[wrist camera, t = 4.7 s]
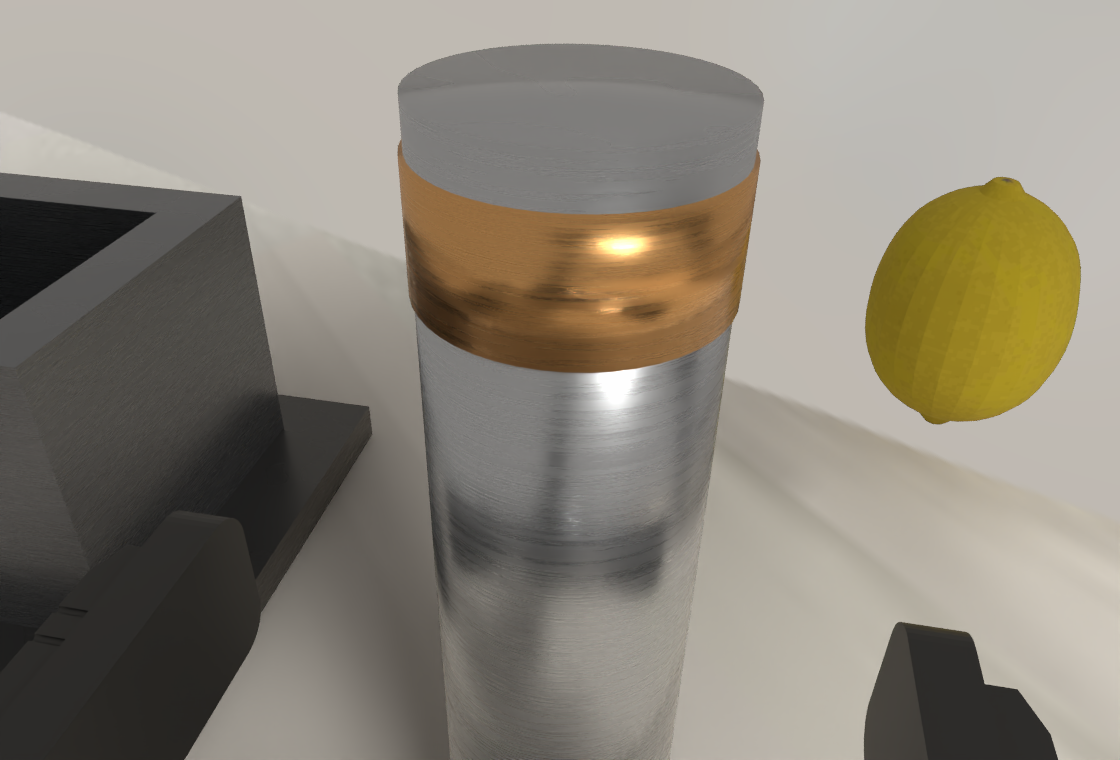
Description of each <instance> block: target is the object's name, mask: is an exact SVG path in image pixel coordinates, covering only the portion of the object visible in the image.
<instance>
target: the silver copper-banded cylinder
mask: <svg viewBox="0 0 1120 760" xmlns="http://www.w3.org/2000/svg"><path fill="white" fill-rule="evenodd" d="M398 101H399V113H400V127H401V141H400V143H399V145H398V166H399V177H400V190H401V201H402V214H403V226H404V238H405V251H406V263H407V275H408V288H409V298H410V301H411V305H412V308H413V309H414V311H415V317H416V330H417V343H418V355H419V368H420V381H421V394H422V406H423V419H424V432H425V444H426V457H427V470H428V482H429V495H430V508H431V520H432V533H433V546H434V559H435V571H436V584H437V597H438V609H439V622H440V635H441V647H442V660H443V673H444V686H445V698H446V711H447V724H448V736H449V749H450V760H669V759H670V752H671V745H672V738H673V731H674V724H675V717H676V711H677V704H678V697H679V690H680V683H681V676H682V669H683V662H684V655H685V648H686V641H687V634H688V627H689V620H690V613H691V606H692V599H693V592H694V585H695V578H696V571H697V564H698V557H699V550H700V543H701V536H702V529H703V522H704V515H705V508H706V501H707V494H708V487H709V480H710V473H711V466H712V459H713V452H714V445H715V439H716V432H717V425H718V418H719V411H720V404H721V397H722V390H723V383H724V376H725V368H726V361H727V355H728V348H729V341H730V333H731V327H732V322H733V320H734V318H735V316H736V314H737V312H738V308H739V303H740V296H741V290H742V282H743V276H744V270H745V263H746V256H747V249H748V242H749V235H750V228H751V221H752V215H753V208H754V201H755V194H756V188H757V181H758V174H759V167H760V156H759V152H758V150H757V146H758V139H759V132H760V125H761V117H762V110H763V104H764V98H763V93H762V92H761V90H760V89H759V87H758V86H757V85H755V84H754V83H753V82H752V81H751V80H749V79H747V78H746V77H744V76H743V75H741V74H739V73H737V72H735V71H733V70H730V69H728V68H725V67H723V66H720V65H717V64H714V63H711V62H707V61H704V60H701V59H696V58H692V57H688V56H684V55H679V54H673V53H668V52H662V51H656V50H649V49H642V48H633V47H623V46H610V45H592V44H536V45H520V46H508V47H498V48H490V49H483V50H477V51H471V52H466V53H461V54H456V55H453V56H449V57H445V58H442V59H439V60H436V61H433V62H430V63H427V64H425V65H423V66H421V67H419V68H416V69H415V70H414V71H412V72H410V73H409V74H408V75H406V77H404V78H403V79H402V80H401V83H400V84H399V86H398Z"/></svg>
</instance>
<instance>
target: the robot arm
mask: <svg viewBox="0 0 1120 760" xmlns="http://www.w3.org/2000/svg"><path fill="white" fill-rule="evenodd" d="M260 614H261V604H260V598H259V594H258V589H257V585H256V581H255V577H254V572H253V568H252V564H251V560H250V556H249V551H248V547H247V543H246V539H245V535H244V531H243V528H242V525H241V524H240V522H239V521H238V520H236V519H234V518H228V517H221V516H215V515H208V514H201V513H195V512H188V511H181V510H179V511H175V512H173V513H171V514H170V515H168V516H167V517H166V518H165V519H164V520H163V521H162V523H161V524H160V525H159V526H158V528H157V529H156V530H155V531H154V532H153V534H152V535H151V536H150V537H149V538H148V540H147V541H146V542H145V543H144V544H143V546H142V547H138V546H132V545H128V546H126V547H125V548H123V549H122V550H120V551H119V552H117V553H116V554H114V555H113V556H111V557H109V558H108V559H106V560H105V561H103V562H102V563H100V564H99V565H97V566H96V567H94V568H93V569H91V570H90V571H88V572H87V574H86V575H85V576H84V577H83V578H82V579H81V580H80V582H79V583H78V584H77V585H76V586H75V587H74V588H73V590H72V591H71V592H70V593H69V594H68V595H67V597H66V598H65V599H64V600H63V601H62V602H61V603H60V605H59V609H58V611H57V613H54V612H53V613H52V614H51V615H50V616H49V617H48V618H47V620H46V621H45V622H44V623H43V624H42V625H41V626H40V628H39V629H38V630H37V631H36V632H35V633H34V634H35V637H34V639H33V640H32V641H27V643H26V644H25V645H24V646H23V647H22V648H21V649H20V651H19V652H18V653H17V654H16V655H15V656H14V657H13V659H12V660H11V661H10V662H9V663H8V664H7V666H6V667H5V668H4V669H3V670H2V671H1V672H0V760H184V759H185V758H186V756H187V754H188V753H189V751H190V749H191V748H192V746H193V744H194V743H195V741H196V740H197V738H198V736H199V735H200V733H201V731H202V730H203V728H204V726H205V725H206V723H207V721H208V720H209V718H210V716H211V715H212V713H213V711H214V710H215V708H216V706H217V705H218V703H219V701H220V700H221V698H222V696H223V695H224V693H225V691H226V690H227V688H228V686H229V685H230V683H231V681H232V680H233V678H234V676H235V675H236V673H237V671H238V670H239V668H240V666H241V665H242V663H243V661H244V660H245V658H246V656H247V655H248V653H249V651H250V649H251V647H252V645H253V643H254V640H255V638H256V635H257V631H258V627H259V622H260ZM864 760H1058V758H1057V754H1056V751H1055V748H1054V744H1053V741H1052V738H1051V734H1050V733H1049V732H1048V730H1047V729H1046V727H1045V726H1044V725H1043V723H1042V722H1041V721H1040V719H1039V718H1038V717H1037V715H1036V714H1035V713H1034V711H1033V710H1032V708H1031V707H1030V706H1029V704H1028V703H1027V702H1026V700H1025V699H1024V698H1023V696H1022V695H1021V693H1020V692H1019V691H1018V689H1011V688H1005V687H999V686H993V685H986V684H984V680H983V676H982V671H981V667H980V663H979V659H978V655H977V651H976V647H975V644H974V641H973V639H972V637H971V636H970V634H969V633H967V632H962V631H956V630H949V629H943V628H936V627H929V626H923V625H916V624H910V623H903V622H898V623H897V624H896V625H895V627H894V629H893V631H892V634H891V637H890V640H889V643H888V646H887V649H886V653H885V656H884V659H883V662H882V665H881V668H880V671H879V674H878V677H877V680H876V683H875V686H874V689H873V692H872V696H871V699H870V702H869V705H868V709H867V715H866V721H865V732H864Z"/></svg>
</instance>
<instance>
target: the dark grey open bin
mask: <svg viewBox="0 0 1120 760" xmlns="http://www.w3.org/2000/svg"><path fill="white" fill-rule="evenodd" d="M371 435H372V428H371V419H370V411H369V407H368V406H360V405H353V404H345V403H338V402H330V401H322V400H315V399H307V398H300V397H292V396H285V395H278V393H277V388H276V382H275V377H274V372H273V366H272V361H271V355H270V350H269V345H268V339H267V334H266V329H265V323H264V318H263V312H262V307H261V302H260V296H259V291H258V285H257V280H256V275H255V269H254V264H253V258H252V253H251V248H250V242H249V237H248V231H247V226H246V221H245V215H244V210H243V205H242V199H241V196H233V195H223V194H213V193H203V192H192V191H182V190H172V189H162V188H151V187H141V186H131V185H121V184H110V183H100V182H90V181H80V180H69V179H59V178H49V177H39V176H28V175H18V174H8V173H0V672H1V671H2V670H3V669H4V668H5V667H6V666H7V664H8V663H9V662H10V661H11V660H12V659H13V657H14V656H15V655H16V654H17V653H18V652H19V651H20V649H21V648H22V647H23V646H24V645H25V644H26V643H27V641H32V640H33V639H34V637H35V634H34V633H35V632H36V631H37V630H38V629H39V628H40V626H41V625H42V624H43V623H44V622H45V621H46V620H47V618H48V617H49V616H50V615H51V614H52V613H53V612H54V613H57V611H58V609H59V605H60V603H61V602H62V601H63V600H64V599H65V598H66V597H67V595H68V594H69V593H70V592H71V591H72V590H73V588H74V587H75V586H76V585H77V584H78V583H79V582H80V580H81V579H82V578H83V577H84V576H85V575H86V574H87V572H88V571H90V570H91V569H93V568H94V567H96V566H97V565H99V564H100V563H102V562H103V561H105V560H106V559H108V558H109V557H111V556H113V555H114V554H116V553H117V552H119V551H120V550H122V549H123V548H125V547H126V546H128V545H132V546H138V547H142V546H143V544H144V543H145V542H146V541H147V540H148V538H149V537H150V536H151V535H152V534H153V532H154V531H155V530H156V529H157V528H158V526H159V525H160V524H161V523H162V521H163V520H164V519H165V518H166V517H167V516H168V515H170V514H171V513H173V512H175V511H179V510H181V511H188V512H195V513H201V514H208V515H215V516H221V517H228V518H234V519H236V520H238V521H239V522H240V524H241V525H242V528H243V531H244V535H245V539H246V543H247V547H248V551H249V556H250V560H251V564H252V568H253V572H254V577H255V581H256V585H257V589H258V594H259V598H260V604H261V611H262V610H263V608H264V607H265V605H266V603H267V602H268V600H269V599H270V597H271V595H272V594H273V592H274V591H275V589H276V587H277V586H278V584H279V583H280V581H281V579H282V578H283V576H284V574H285V573H286V571H287V570H288V568H289V566H290V565H291V563H292V562H293V560H294V558H295V557H296V555H297V554H298V552H299V550H300V549H301V547H302V546H303V544H304V542H305V541H306V539H307V538H308V536H309V534H310V533H311V531H312V530H313V528H314V526H315V525H316V523H317V522H318V520H319V518H320V517H321V515H322V513H323V512H324V510H325V509H326V507H327V505H328V504H329V502H330V501H331V499H332V497H333V496H334V494H335V493H336V491H337V489H338V488H339V486H340V485H341V483H342V481H343V480H344V478H345V477H346V475H347V473H348V472H349V470H350V469H351V467H352V465H353V464H354V462H355V460H356V459H357V457H358V456H359V454H360V452H361V451H362V449H363V448H364V446H365V444H366V443H367V441H368V440H369V438H370V436H371Z"/></svg>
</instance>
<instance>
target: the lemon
mask: <svg viewBox="0 0 1120 760" xmlns="http://www.w3.org/2000/svg"><path fill="white" fill-rule="evenodd" d="M1080 269H1081V267H1080V259H1079V254H1078V250H1077V247H1076V244H1075V242H1074V240H1073V238H1072V236H1071V234H1070V233H1069V231H1068V229H1067V227H1066V226H1065V224H1064V223H1063V222H1062V220H1061V219H1060V218H1059V217H1058V215H1056V213H1054V212H1053V211H1052V210H1051V209H1050V208H1049V207H1048V206H1047V205H1045V204H1044V203H1043V202H1041V201H1040V200H1038V199H1036V198H1035V197H1033V196H1031V195H1029V194H1027V193H1025V191H1024V190H1023V188H1022V186H1021V184H1020V182H1019V181H1017V180H1014V179H1011V178H1006V177H996V178H994V179H992V180H991V181H989V182H988V183H986V184H985V185H982V186H973V187H967V188H963V189H958V190H955V191H953V192H950V193H947V194H945V195H942V196H940V197H938V198H936V199H934V200H933V201H930V202H929V203H927V204H926V205H924V206H923V207H921V208H920V209H919V210H917V211H916V212H915V213H914V214H913V215H912V216H911V217H910V218H909V219H908V220H907V221H906V222H905V223H904V224H903V226H902V227H901V228H900V229H899V231H898V232H897V233H896V235H895V236H894V238H893V239H892V241H891V243H890V244H889V246H888V248H887V250H886V252H885V253H884V255H883V257H882V260H881V262H880V264H879V266H878V268H877V271H876V274H875V276H874V280H873V283H872V286H871V291H870V295H869V300H868V306H867V311H866V322H865V323H866V324H865V333H866V342H867V347H868V352H869V355H870V358H871V361H872V364H873V366H874V369H875V371H876V373H877V375H878V376H879V378H880V380H881V381H882V382H883V383H884V385H885V386H886V387H887V388H888V389H889V391H890V392H891V393H892V394H893V395H894V396H895V397H896V398H898V399H899V400H900V401H901V402H903V403H904V404H906V405H907V406H908V407H910V408H912V409H914V410H916V411H917V412H919V413H920V414H921V415H922V416H923V418H925V420H926V421H928V422H930V423H932V424H943V423H946V422H949V421H977V420H982V419H987V418H990V417H994V416H997V415H1000V414H1002V413H1004V412H1006V411H1008V410H1010V409H1012V408H1014V407H1016V406H1018V405H1020V404H1021V403H1023V402H1024V401H1026V400H1027V399H1029V398H1030V397H1031V396H1032V395H1033V394H1034V393H1035V392H1036V391H1037V390H1038V389H1039V388H1040V387H1041V386H1042V384H1043V383H1044V382H1045V381H1046V379H1047V378H1048V377H1049V376H1050V375H1051V373H1052V372H1053V371H1054V369H1055V368H1056V366H1057V365H1058V363H1059V361H1060V360H1061V358H1062V356H1063V354H1064V352H1065V351H1066V348H1067V346H1068V343H1069V341H1070V338H1071V335H1072V332H1073V329H1074V325H1075V321H1076V316H1077V310H1078V304H1079V294H1080V281H1081V270H1080Z"/></svg>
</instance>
